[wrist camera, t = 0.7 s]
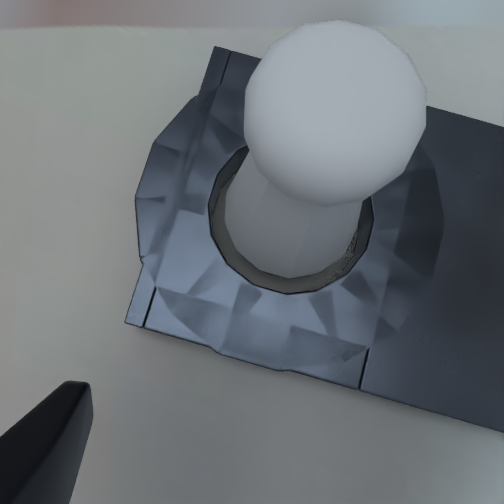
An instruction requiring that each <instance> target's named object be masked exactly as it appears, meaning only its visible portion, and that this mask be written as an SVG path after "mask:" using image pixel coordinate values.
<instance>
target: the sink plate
mask: <svg viewBox="0 0 504 504" xmlns="http://www.w3.org/2000/svg"><path fill="white" fill-rule="evenodd" d="M260 61H261V59H260V58H256V57H253V56H249V55H245V54H242V53H238V52H235V51H231V50H228V49H224V48H221V47H217V46H214V49H213V52H212V55H211V58H210V61H209V64H208V67H207V70H206V73H205V76H204V79H203V83H202V86H201V89H200V92H199V95H197V96H195V97H193V99H191V100H190V101H189V102H188V103H187V104H186V105H185V107H184V108H183V109H182V110H181V111H180V112H179V113H178V114H177V116H176V117H175V118H174V119H173V120H172V121H171V122H170V123H169V125H168V126H167V127H166V128H165V129H164V130H163V131H162V133H161V134H160V135H159V136H158V137H157V138H156V139H155V140H154V142H153V144H152V147H151V150H150V153H149V156H148V159H147V162H146V165H145V168H144V171H143V174H142V177H141V180H140V183H139V186H138V189H137V192H136V195H135V210H136V223H137V235H138V248H139V257H140V261H141V262H142V264H143V266H142V269H141V272H140V275H139V278H138V281H137V284H136V287H135V290H134V294H133V297H132V300H131V303H130V306H129V309H128V312H127V315H126V318H125V321H124V323H126V324H130V325H133V326H137V327H140V328H144V329H147V330H151V331H154V332H158V333H161V334H165V335H168V336H171V337H175V338H178V339H182V340H185V341H189V342H192V343H196V344H199V345H203V346H206V347H209V348H211V349H213V350H214V351H215V352H216V353H219V354H220V355H224V356H227V357H230V358H234V359H237V360H241V361H244V362H248V363H251V364H255V365H258V366H261V367H265V368H268V369H272V370H275V371H282V372H283V371H292V372H296V373H299V374H303V375H306V376H310V377H313V378H316V379H320V380H323V381H327V382H330V383H334V384H337V385H341V386H344V387H348V388H351V389H354V390H359V391H361V392H365V393H368V394H372V395H375V396H379V397H382V398H386V399H389V400H392V401H396V402H399V403H403V404H406V405H410V406H413V407H417V408H420V409H423V410H427V411H430V412H434V413H437V414H441V415H444V416H448V417H451V418H455V419H458V420H461V421H465V422H468V423H472V424H475V425H479V426H482V427H486V428H489V429H493V430H496V431H499V432H503V433H504V127H502V126H498V125H495V124H491V123H487V122H484V121H480V120H477V119H473V118H469V117H466V116H462V115H459V114H455V113H452V112H448V111H444V110H441V109H437V108H434V107H430V106H426V127H425V129H424V131H423V134H422V136H421V138H420V140H419V142H418V144H417V146H416V148H415V150H414V152H413V154H412V156H411V158H410V160H409V162H408V164H407V166H406V168H405V170H404V172H403V173H402V174H401V175H399V176H398V177H397V178H395V179H394V180H392V181H391V182H389V183H388V184H387V185H385V186H384V187H382V188H381V189H379V190H378V191H376V192H375V193H374V194H372V195H371V196H369V197H368V198H366V199H365V200H363V202H362V206H361V211H360V216H359V221H358V224H359V234H358V238H357V242H356V246H355V250H354V254H353V257H352V259H351V260H350V261H349V262H348V264H347V265H346V266H345V268H344V269H343V270H342V272H341V273H340V274H339V276H338V277H337V278H336V279H335V280H334V281H332V282H331V283H329V284H327V285H325V286H323V287H322V288H320V289H318V290H313V291H305V292H296V293H287V294H285V293H282V292H278V291H275V290H271V289H268V288H264V287H261V286H257V285H254V284H252V283H251V282H250V281H249V280H247V279H246V278H245V277H244V276H242V275H241V274H240V273H239V272H237V271H236V270H235V269H234V268H232V267H231V266H230V265H228V263H227V262H226V260H225V258H224V256H223V254H222V253H221V251H220V249H219V247H218V245H217V243H216V242H215V240H214V234H213V224H212V215H213V211H214V208H215V205H216V202H217V198H218V195H219V192H220V190H221V188H222V187H223V186H224V185H225V184H226V182H227V181H228V180H229V179H230V178H231V177H232V175H233V174H234V173H235V172H236V171H237V169H238V168H240V167H241V165H242V163H243V162H244V160H245V158H246V156H247V155H248V153H249V151H250V150H249V148H248V145H247V143H246V141H245V138H244V110H245V90H246V87H247V85H248V82H249V80H250V77H251V76H252V74H253V72H254V71H255V69H256V68H257V66H258V64H259V63H260Z"/></svg>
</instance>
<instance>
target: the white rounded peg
mask: <svg viewBox="0 0 504 504" xmlns="http://www.w3.org/2000/svg"><path fill="white" fill-rule="evenodd" d="M425 127H426V87H425V85H424V83H423V81H422V79H421V77H420V75H419V74H418V72H417V70H416V68H415V66H414V64H413V62H412V60H411V58H410V56H409V54H408V53H406V52H405V51H404V50H403V49H401V48H400V47H399V46H398V45H397V44H395V43H394V42H393V41H392V40H390V39H389V38H388V37H387V36H386V35H384V34H383V33H382V32H381V31H380V30H378V29H374V28H371V27H367V26H363V25H359V24H355V23H352V22H348V21H344V20H332V21H325V22H317V23H309V24H302V25H300V26H299V27H297V28H296V29H294V30H293V31H291V32H290V33H288V34H287V35H285V36H283V37H282V38H280V39H279V40H277V41H276V42H274V43H273V44H271V45H270V46H269V48H268V50H267V51H266V53H265V55H264V56H263V58H262V59H261V61H260V63H259V64H258V66H257V68H256V69H255V71H254V72H253V74H252V76H251V77H250V80H249V82H248V85H247V87H246V90H245V110H244V138H245V141H246V143H247V145H248V148H249V150H250V151H249V153H248V155H247V156H246V158H245V160H244V162H243V163H242V165H241V167H240V169H239V171H238V172H237V174H236V176H235V178H234V180H233V181H232V183H231V185H230V187H229V189H228V190H227V192H226V205H225V221H224V222H225V224H226V227H227V229H228V232H229V234H230V237H231V239H232V241H233V244H234V246H235V249H236V250H237V251H238V252H239V253H240V254H241V255H242V256H244V257H245V258H246V259H247V260H248V261H249V262H250V263H252V264H253V265H254V266H255V267H256V268H257V269H259V270H261V271H264V272H268V273H271V274H274V275H278V276H281V277H284V278H288V279H291V278H296V277H301V276H307V275H312V274H317V273H320V272H321V271H323V270H324V269H326V268H327V267H329V266H330V265H331V264H333V263H334V262H336V261H337V260H339V259H340V258H342V257H343V256H344V254H345V252H346V250H347V248H348V246H349V244H350V242H351V240H352V238H353V236H354V234H355V232H356V230H357V226H358V221H359V216H360V211H361V206H362V202H363V200H365V199H366V198H368V197H369V196H371V195H372V194H374V193H375V192H376V191H378V190H379V189H381V188H382V187H384V186H385V185H387V184H388V183H389V182H391V181H392V180H394V179H395V178H397V177H398V176H399V175H401V174H402V173H403V172H404V170H405V168H406V166H407V164H408V162H409V160H410V158H411V156H412V154H413V152H414V150H415V148H416V146H417V144H418V142H419V140H420V138H421V136H422V134H423V131H424V129H425Z"/></svg>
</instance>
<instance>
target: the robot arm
mask: <svg viewBox="0 0 504 504" xmlns="http://www.w3.org/2000/svg"><path fill="white" fill-rule="evenodd" d="M92 421H93V404H92V395H91V387H90V385H89V384H88V383H86V382H79V381H66V382H64V383H63V384H61V385H60V386H59V387H58V388H57V389H56V390H54V391H53V392H52V393H51V394H50V395H49V396H47V397H46V398H45V399H44V400H43V401H42V402H40V403H39V404H38V405H37V406H36V407H35V408H33V409H32V410H31V411H30V412H29V413H28V414H26V415H25V416H24V417H23V418H22V419H21V420H19V421H18V422H17V423H16V424H15V425H14V426H12V427H11V428H10V429H9V430H8V431H7V432H5V433H4V434H3V435H2V436H1V437H0V504H69V502H70V499H71V496H72V492H73V489H74V485H75V482H76V478H77V475H78V471H79V468H80V464H81V461H82V457H83V454H84V450H85V447H86V443H87V440H88V436H89V433H90V429H91V426H92Z"/></svg>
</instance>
